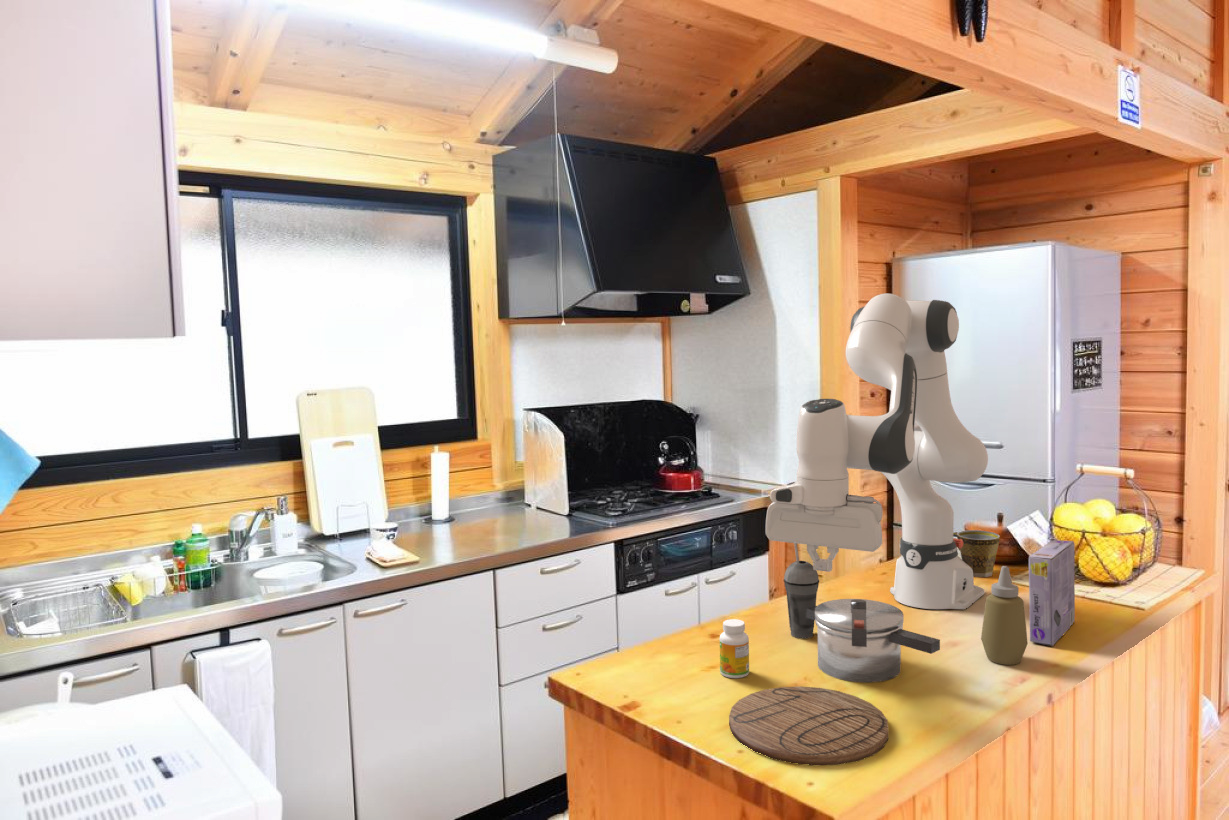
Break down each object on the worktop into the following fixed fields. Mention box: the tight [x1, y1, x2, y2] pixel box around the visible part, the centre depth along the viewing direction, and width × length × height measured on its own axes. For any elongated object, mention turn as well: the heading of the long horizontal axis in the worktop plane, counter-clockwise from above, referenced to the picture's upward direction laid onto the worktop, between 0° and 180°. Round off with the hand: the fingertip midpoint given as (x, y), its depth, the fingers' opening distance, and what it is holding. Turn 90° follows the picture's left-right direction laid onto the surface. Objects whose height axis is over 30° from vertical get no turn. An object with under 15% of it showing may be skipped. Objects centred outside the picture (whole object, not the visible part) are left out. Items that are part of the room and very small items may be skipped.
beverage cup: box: [783, 543, 820, 639], centre depth 185 cm, size 7×7×20 cm
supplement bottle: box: [719, 618, 750, 679], centre depth 166 cm, size 5×5×10 cm
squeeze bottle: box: [980, 565, 1028, 666], centre depth 168 cm, size 8×8×18 cm
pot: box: [806, 605, 941, 683], centre depth 166 cm, size 16×27×9 cm, turn 40°
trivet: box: [728, 685, 889, 766], centre depth 144 cm, size 25×25×2 cm
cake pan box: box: [1028, 539, 1076, 647], centre depth 182 cm, size 19×5×18 cm, turn 140°
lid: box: [815, 598, 905, 647], centre depth 162 cm, size 16×26×5 cm, turn 165°
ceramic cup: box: [953, 529, 1001, 578], centre depth 226 cm, size 13×10×10 cm
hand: (822, 570), depth 157 cm, fingers closed
